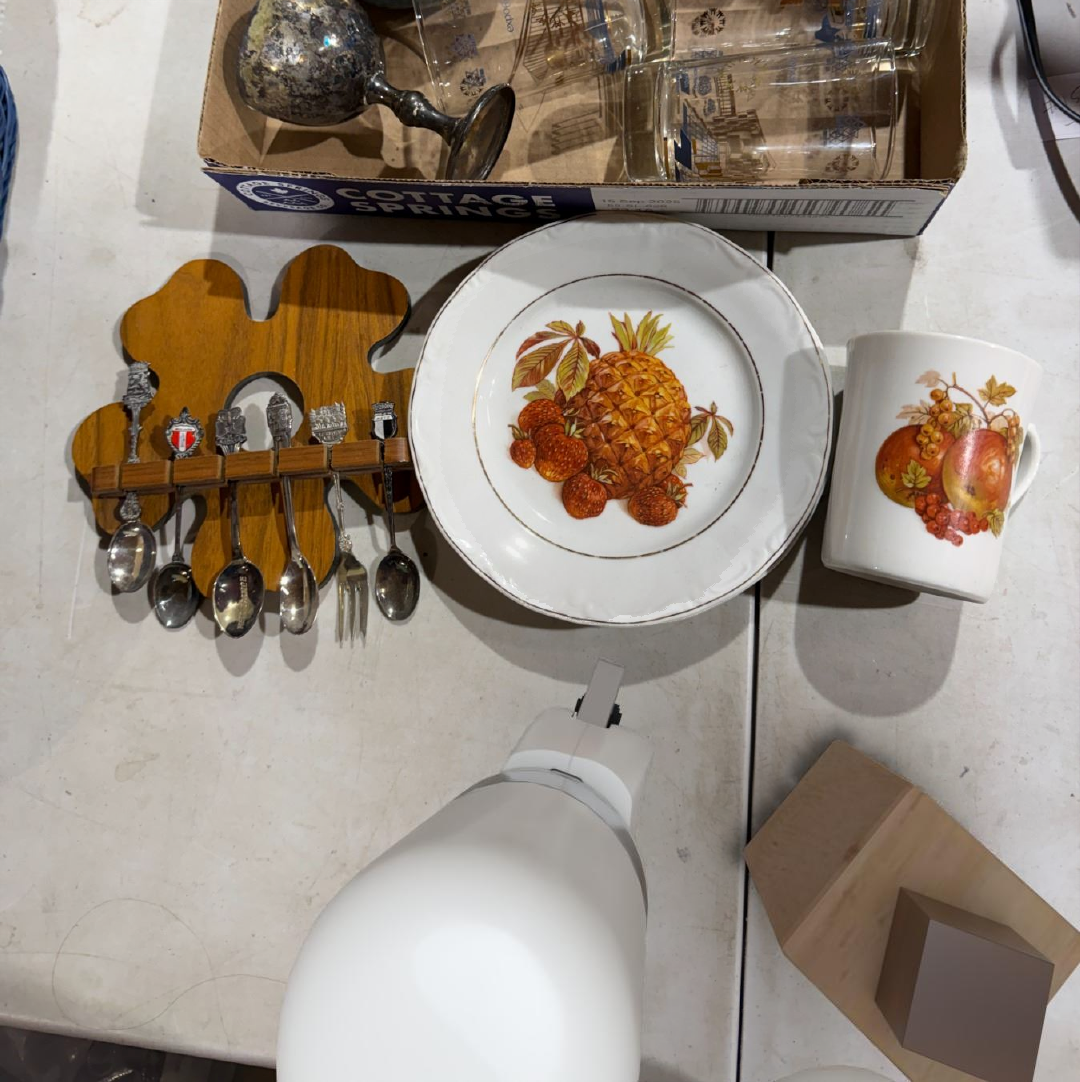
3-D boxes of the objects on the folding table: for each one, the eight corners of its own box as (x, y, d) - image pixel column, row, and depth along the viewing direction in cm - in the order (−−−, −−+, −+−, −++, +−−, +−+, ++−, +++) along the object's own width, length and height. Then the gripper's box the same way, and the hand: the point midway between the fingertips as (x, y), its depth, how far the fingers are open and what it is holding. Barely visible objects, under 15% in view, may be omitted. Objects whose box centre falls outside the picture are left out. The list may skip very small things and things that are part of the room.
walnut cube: (987, 1046, 43) (1030, 1099, 38) (873, 1001, 44) (901, 1048, 39) (1011, 927, 44) (1055, 964, 40) (899, 886, 45) (929, 917, 40)
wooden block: (738, 852, 64) (776, 950, 45) (836, 734, 65) (913, 781, 46) (862, 973, 62) (958, 1131, 43) (961, 848, 63) (1098, 948, 44)
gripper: (554, 1273, 28) (595, 1029, 45) (719, 670, 31) (698, 660, 49) (314, 1158, 29) (444, 964, 46) (500, 595, 33) (555, 611, 50)
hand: (574, 809), depth 47 cm, fingers closed on slate cube, 5 cm apart
